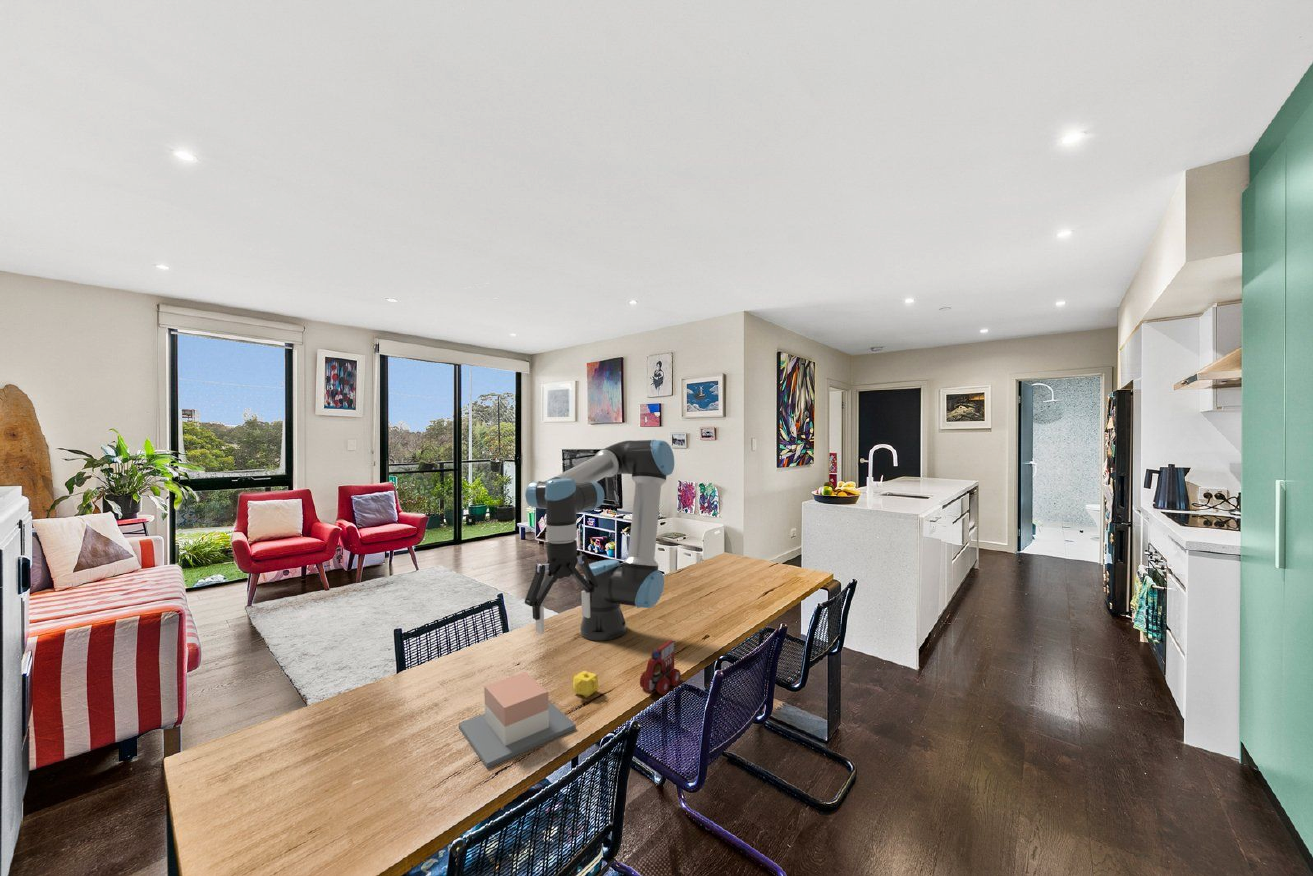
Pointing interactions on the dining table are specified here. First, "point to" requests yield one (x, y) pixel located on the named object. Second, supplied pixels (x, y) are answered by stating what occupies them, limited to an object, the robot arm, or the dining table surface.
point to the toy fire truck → (661, 670)
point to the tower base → (505, 752)
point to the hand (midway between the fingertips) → (563, 624)
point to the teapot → (585, 683)
